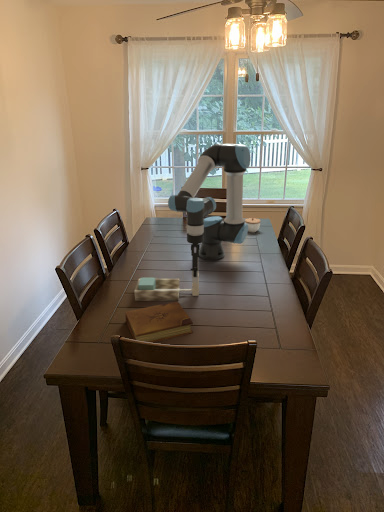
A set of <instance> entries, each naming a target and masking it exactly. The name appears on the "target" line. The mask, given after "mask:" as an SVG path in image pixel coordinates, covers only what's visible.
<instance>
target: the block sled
mask: <svg viewBox="0 0 384 512" xmlns="http://www.w3.org/2000/svg"><path fill="white" fill-rule="evenodd" d="M199 272H200V271H198V283H192V282H191V283H192V284H191V285H192V287H191V288H180V289H155V288H156V282H155V279H156V277H140V278H139V279H140V282H139V285H138V288H139V290H178V291H179V292H192V296H193V297H194V296H195V297H198V296H200V295H199V294H200V292H199V291H200V288H199V287H200V284H199V283H200V282H199V280H200V276H199V275H200V273H199Z"/></svg>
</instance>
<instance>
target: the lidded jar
mask: <svg viewBox="0 0 384 512" xmlns="http://www.w3.org/2000/svg"><path fill="white" fill-rule="evenodd" d="M244 219H245V224H247V225H248V233H255V232H257V231H259V228H260V227H261V219H260V218H255V217H250V218H244Z"/></svg>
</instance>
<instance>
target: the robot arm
mask: <svg viewBox="0 0 384 512" xmlns="http://www.w3.org/2000/svg"><path fill="white" fill-rule="evenodd" d="M250 166H251V151H250V148H249V147H248V146H247V145H246V144H239V143H222V142H221V143H215V144H213V145H211V146H209V147H207V149H205V150H204V151H203V152H202V153H201V154H200V155H199V157H198V159H197V164H196V165H195V167H194V168H193V169H192V171H191V173H190V175H189V176H188V178H187V179H186V181H185V183H184V184H183V186H182V187H181V189H180V191H179V192H178V193H177V194H172V195H170V196H169V198H168V201H167V206H168V208H169V210H170V211H172V212H177V213H186V226H185V228H186V241H187V243H189V244H190V251H191V253H190V254H191V256H192V257H191V258H192V259H191V260H192V261H191V264H192V265H191V266H192V267H191V268H190V271H191V283H198V272H199V258H200V259H203V260H206V261H217V260H222V258H224V257H225V249H224V247H223V244H222V242H225V243H230V244H237V245H238V244H239V245H240V244H243V243H244V242H245V240H246V238H247V236H248V233H249V231H248V225H247V224H245V219H246V218H244V217H243V200H244V199H243V197H244V196H243V193H244V191H243V190H244V189H243V187H244V174H245V173H246V172H247V169H248V168H250ZM217 167H219V168H220V167H222V168H223V172H224V173H225V175H226V216H225V218H223V217H222V216H218V215H217V216H214V215H213V216H208V215H212V213H213V212H214V211H215V210H216V209H217V202H216V199H215V198H213V197H211V196H205V197H204V198H202V197H195V196H197V194H198V191H199V190H200V189H201V187H202V186H203V184H204V182H205V180H206V179H207V177H208V175H210V172H212V171H213V170H214V169H215V168H217Z"/></svg>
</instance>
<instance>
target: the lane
mask: <svg viewBox="0 0 384 512" xmlns="http://www.w3.org/2000/svg"><path fill="white" fill-rule="evenodd" d="M140 279H141V278H137V282H136V286H135V288H134V301H136V302H137V301H139V302H141V301H142V302H143V301H146V302H151V301H152V302H154V301H155V302H156V301H157V302H158V301H159V302H160V301H161V302H164V301H166V302H167V301H168V302H170V301H171V302H176V301H178V302H179V298H180V297H179V296H180V291H178V290H139V288H138V285H139V282H140ZM155 282H156V288H155V289H181V288H180V284H181V283H180V278H155Z"/></svg>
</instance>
